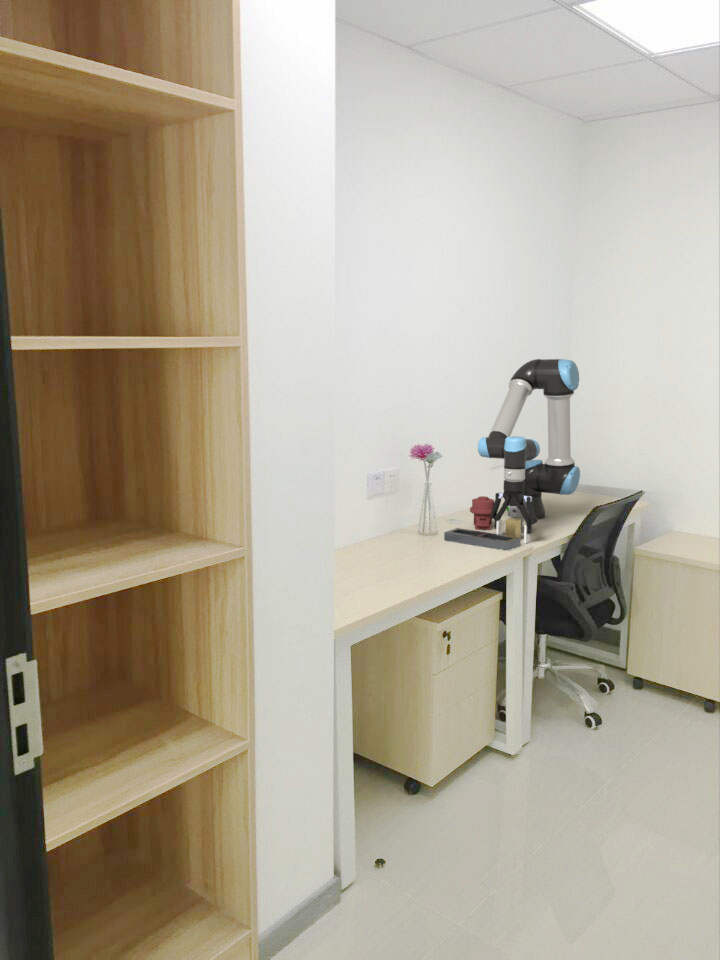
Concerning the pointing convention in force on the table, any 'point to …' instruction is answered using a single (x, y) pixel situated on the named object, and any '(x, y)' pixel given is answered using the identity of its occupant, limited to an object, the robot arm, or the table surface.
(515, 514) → the mechanical component
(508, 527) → the brushed brass bar
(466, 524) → the table surface
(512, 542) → the rack frame
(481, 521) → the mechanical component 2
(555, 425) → the robot arm
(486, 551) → the table surface
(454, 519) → the table surface
